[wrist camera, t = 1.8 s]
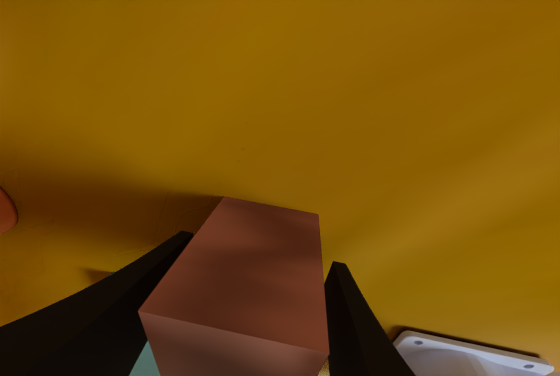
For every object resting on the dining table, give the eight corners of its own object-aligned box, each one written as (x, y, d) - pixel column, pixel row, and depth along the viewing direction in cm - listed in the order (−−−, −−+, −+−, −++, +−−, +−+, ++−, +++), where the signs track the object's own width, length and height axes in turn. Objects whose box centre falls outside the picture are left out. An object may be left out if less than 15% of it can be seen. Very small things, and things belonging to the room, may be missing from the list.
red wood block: (318, 214, 10) (329, 353, 5) (299, 277, 13) (294, 417, 7) (224, 196, 10) (137, 310, 5) (223, 261, 13) (164, 386, 7)
